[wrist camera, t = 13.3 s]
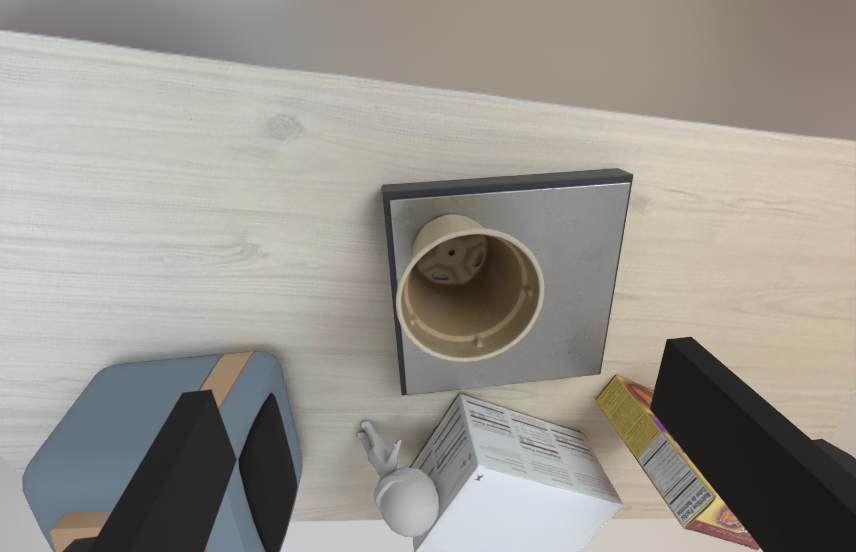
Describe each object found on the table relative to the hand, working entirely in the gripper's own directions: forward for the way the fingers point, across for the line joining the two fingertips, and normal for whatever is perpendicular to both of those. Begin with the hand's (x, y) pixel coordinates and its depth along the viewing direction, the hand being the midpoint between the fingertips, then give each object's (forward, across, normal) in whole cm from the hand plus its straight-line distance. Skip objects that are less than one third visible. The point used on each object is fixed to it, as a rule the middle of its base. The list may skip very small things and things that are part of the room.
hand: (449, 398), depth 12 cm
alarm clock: (+25, -21, -22) cm, 39 cm away
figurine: (+25, -6, -26) cm, 36 cm away
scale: (+25, +8, -10) cm, 28 cm away
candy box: (+24, +24, -26) cm, 43 cm away
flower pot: (+22, +3, -5) cm, 23 cm away
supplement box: (+24, +8, -32) cm, 41 cm away
